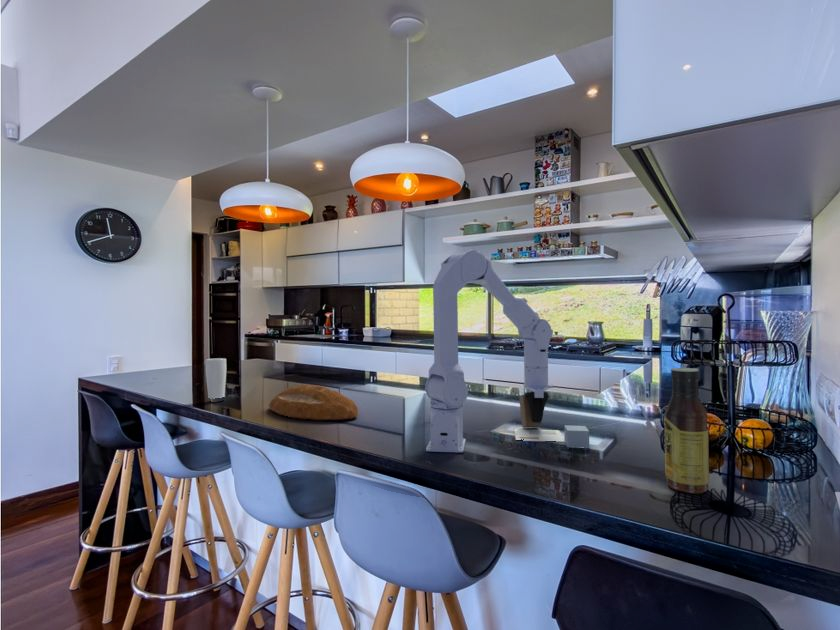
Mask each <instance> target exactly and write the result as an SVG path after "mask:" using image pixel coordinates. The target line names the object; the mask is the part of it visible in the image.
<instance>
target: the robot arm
mask: <svg viewBox="0 0 840 630" xmlns="http://www.w3.org/2000/svg"><path fill="white" fill-rule="evenodd" d="M440 267H441V268H440V270H439V272H438V273H437V275H436V278H435V280H434V282H433V284H432V285H433V286H432V291H433V292H432V295H433V297H432V298H433V299H432V300H433V363H432V365H431V366H430V368H429V369H428V377H427V380H426V382H425V386H424V389H425V394H426V396H427V398H429V399H430V401H429V402H430V403H429V406H430V407H429V409H430V411H429V412H430V415H429V416H430V418H429V419H430V423H429V429H430V430H429V435H430V437H429V438H430V439H429V442H428V444H427V446H426V448H425V451H426V452H432V453H433V452H435V453H436V452H437V453H463V452H464V451H465V445H466V440H467V439H466V438H464V436H463V435H464V432H463V431H464V430H463V429H464V427H463V422H464V421H463V407H464V403H465V402H466V400H467V399H468V395H469V390H468V386H467V383H466V381H465V373H464V370H463V369H462V367H461V365H460V363H459V320H458V319H459V318H458V317H459V315H458V313H459V312H458V309H459V307H458V293H459V292H460V291H461V290H462V289H463V288H464V287H465V286H466V285H468V283H470V284H476V285H480V286H482V287H483V288H484V289H485V290H486V291H487V292H488V293H489V294H490V295H492V296H493V297H494V299H495V300H497V301H498V302H499V304H501V305H502V312H503V315H504V316H506V318H507V319H508V320H509V321H510V322H511V323H512V324H513V325H514V327H516V329H517V331H518V332H517V333H518V336H519V338H520V339H521V340H523V354H524V355H523V362H524V363H523V366H524V367H523V368H524V370H523V371H524V373H523V374H524V375H523V376H524V377H523V378H524V384H523V388H524V389H525V390H529V391H531V392H524V394H525V396H526V398H527V400H528V403H529V407H530V412H531V418H532V421H533V422H541V423H542V420H543V416H544V411H545V407H546V404H547V402H548V399H549V397H550V395H549V393H548V391H547V390H549V389H554V384H552V383H550V384H549V351H548V349H549V347H550V340H551V339H552V337H553V335H554V333H553V332H554V330H553V329H552V326H551V324H550V323H549V322H548V321H547V320H546V319H544V318H540V317H539V314H538V313H537V312H535V310H533V308H531V306H530V305H529V304H528V300H527V299H526V298H525V297H524V298H523V297H522V296H514V294H513V293H512V292H511V291H510V289H509V288H508V287H507V286H506V284H505V283H504V282H503V281H502V279H501V277H499V275H498V274H497V273H496V272H495V271H494V269H493V266H492V263H491V261H490V260H489V259H488V258H486V256H485V255H484V254H483V253H482V252H481V251H479V250H477V249H470V250H468V251H465V252H461V253H458V254H457V253H456V254H452V255H450V256H448V257H446V259H445V260H443V261H442V262H441V263H440Z"/></svg>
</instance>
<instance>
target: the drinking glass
mask: <svg viewBox="0 0 840 630" xmlns="http://www.w3.org/2000/svg"><path fill="white" fill-rule="evenodd" d="M204 365H205V366H204V367H205V368H204V369H205V370H204V371H205V379H206V388H207V398H210V399H212V398H213V399H215V398H222V397H225V398H226V383H227V358H225V357H223V358H222V357H218V358H217V357H216V358H206V359H205V364H204Z"/></svg>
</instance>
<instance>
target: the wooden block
mask: <svg viewBox="0 0 840 630" xmlns="http://www.w3.org/2000/svg"><path fill="white" fill-rule="evenodd" d="M519 408H520V409H519V410H520V420H521V427H522V428H525V429H527V428H528V429H529V428H530V429H531V428H539V427H542V422H533V421H532V418H531V412H530V407H529V403H528V400H527V398H526V396H525V393H524V394H521V396H519Z"/></svg>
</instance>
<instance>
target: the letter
mask: <svg viewBox="0 0 840 630" xmlns="http://www.w3.org/2000/svg"><path fill="white" fill-rule="evenodd" d="M513 430H514V436H515V441H516V440H521V439H522V440H523V439H524V440H523V441H522V442H545V441H556V442H555V443H565V437H564V436H563V435H562V433H561V431H560V430H558V429H526V428H525V429H522V428H521V429H520V428H519V429H518V428H517V429H516V428H515V429H513Z"/></svg>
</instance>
